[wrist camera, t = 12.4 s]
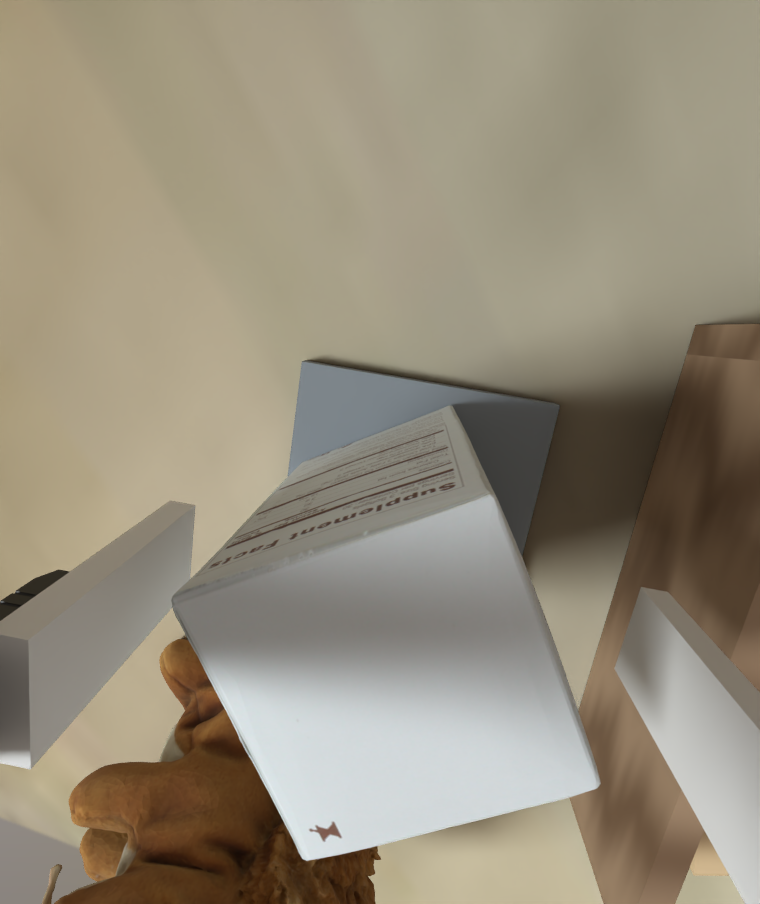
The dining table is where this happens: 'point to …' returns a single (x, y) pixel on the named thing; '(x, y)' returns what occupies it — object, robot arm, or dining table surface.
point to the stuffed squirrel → (198, 821)
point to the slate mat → (404, 399)
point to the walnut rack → (696, 590)
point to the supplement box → (387, 647)
